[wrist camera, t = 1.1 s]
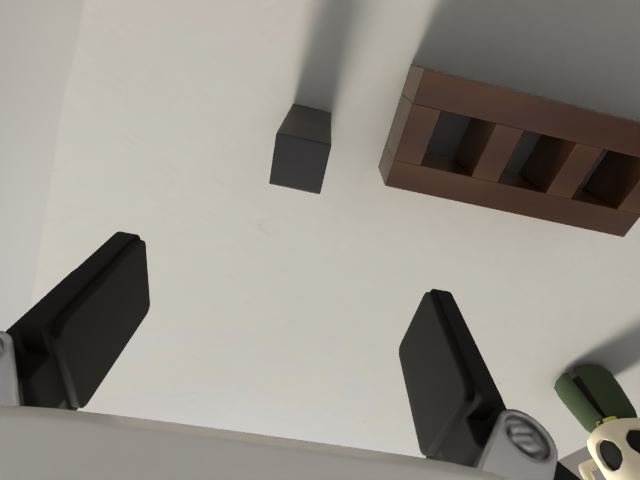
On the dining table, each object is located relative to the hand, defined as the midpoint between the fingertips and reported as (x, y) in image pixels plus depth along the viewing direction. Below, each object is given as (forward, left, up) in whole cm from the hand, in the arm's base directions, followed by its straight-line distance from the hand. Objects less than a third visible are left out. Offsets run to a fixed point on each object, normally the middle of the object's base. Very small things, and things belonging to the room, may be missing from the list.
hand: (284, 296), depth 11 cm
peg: (-1, 0, -19) cm, 19 cm away
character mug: (+21, +38, -19) cm, 47 cm away
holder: (-3, +16, -19) cm, 24 cm away
